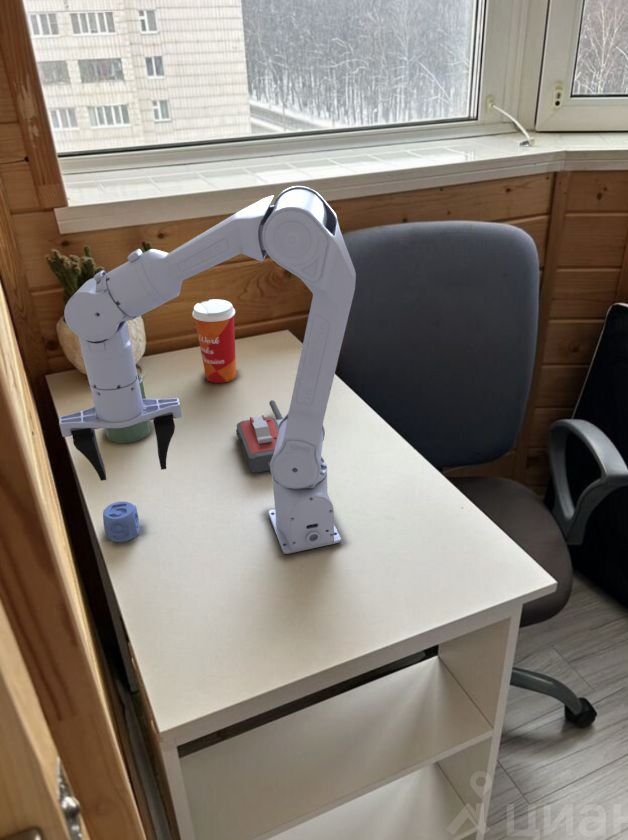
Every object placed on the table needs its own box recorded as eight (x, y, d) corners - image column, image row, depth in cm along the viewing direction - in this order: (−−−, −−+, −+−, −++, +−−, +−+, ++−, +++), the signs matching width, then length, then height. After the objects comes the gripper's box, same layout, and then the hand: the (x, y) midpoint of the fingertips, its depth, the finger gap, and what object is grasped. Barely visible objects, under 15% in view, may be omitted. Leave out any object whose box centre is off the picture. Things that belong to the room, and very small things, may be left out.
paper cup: (192, 375, 137) (182, 305, 129) (226, 363, 142) (219, 294, 134) (215, 390, 132) (206, 318, 125) (250, 377, 137) (243, 306, 129)
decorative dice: (139, 522, 101) (134, 499, 98) (138, 540, 97) (133, 517, 95) (109, 526, 100) (104, 503, 98) (108, 544, 97) (102, 521, 94)
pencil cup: (153, 438, 119) (143, 387, 113) (107, 446, 117) (95, 394, 111) (149, 417, 124) (139, 367, 119) (105, 424, 122) (93, 374, 117)
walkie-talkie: (307, 468, 112) (278, 407, 127) (306, 444, 109) (276, 385, 125) (251, 479, 109) (228, 415, 125) (248, 454, 107) (225, 392, 122)
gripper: (170, 356, 93) (184, 445, 101) (50, 373, 89) (75, 464, 97) (177, 381, 88) (192, 472, 95) (50, 400, 84) (76, 494, 91)
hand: (133, 470), depth 96 cm, fingers open, 7 cm apart
